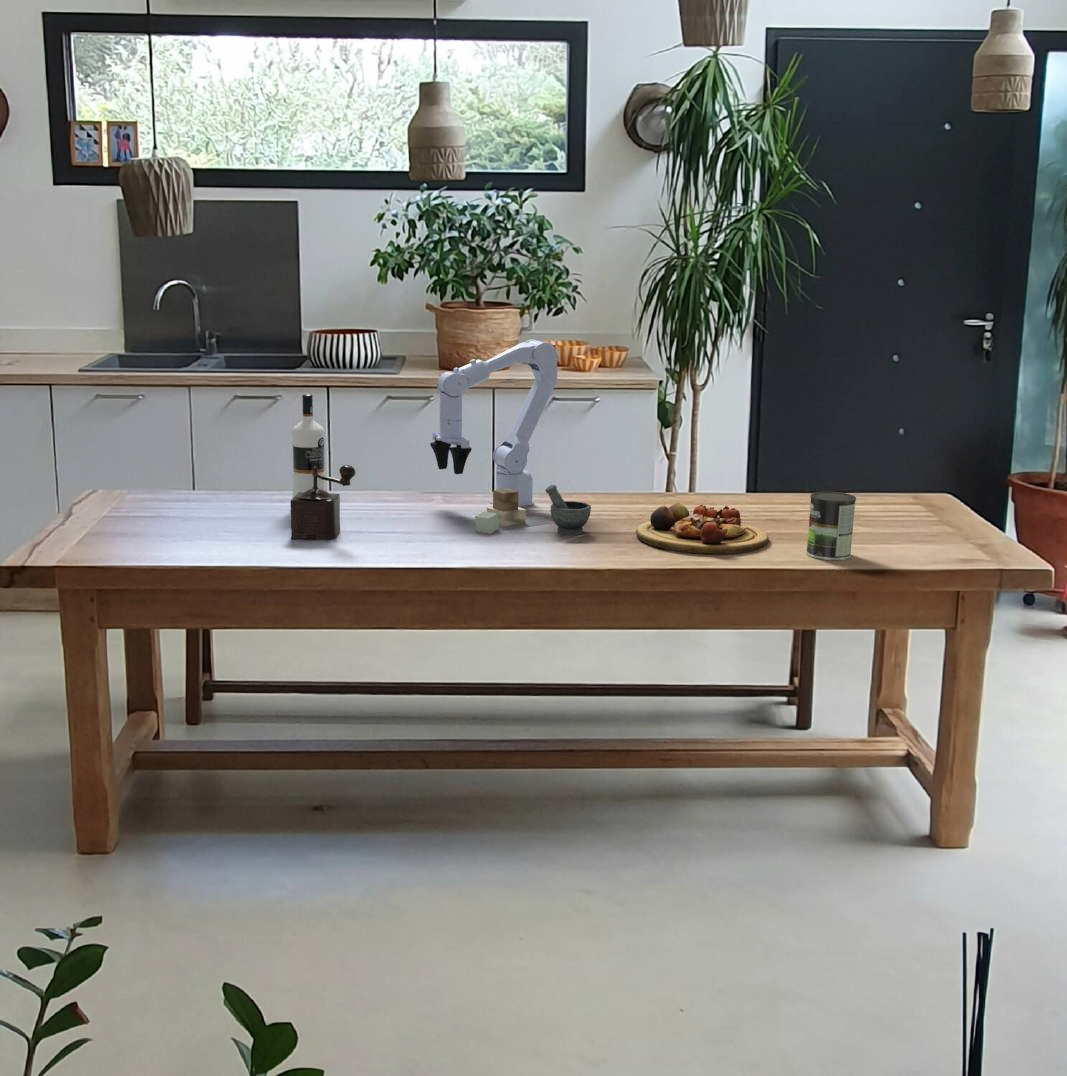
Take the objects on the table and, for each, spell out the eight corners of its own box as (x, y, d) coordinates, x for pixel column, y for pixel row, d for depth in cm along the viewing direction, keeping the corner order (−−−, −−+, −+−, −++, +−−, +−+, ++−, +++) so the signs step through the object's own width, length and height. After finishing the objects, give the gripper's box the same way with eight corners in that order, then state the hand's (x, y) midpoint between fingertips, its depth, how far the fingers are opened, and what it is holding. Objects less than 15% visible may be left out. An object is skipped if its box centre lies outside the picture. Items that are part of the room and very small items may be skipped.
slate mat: (518, 513, 348) (518, 512, 348) (551, 524, 337) (551, 523, 337) (460, 522, 337) (460, 520, 337) (492, 533, 326) (492, 532, 326)
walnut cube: (507, 505, 339) (507, 488, 338) (518, 509, 336) (518, 491, 334) (492, 508, 336) (493, 490, 335) (503, 511, 333) (503, 493, 332)
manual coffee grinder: (289, 540, 316) (287, 465, 311) (298, 529, 327) (296, 456, 322) (355, 542, 315) (354, 466, 311) (362, 531, 326) (361, 458, 322)
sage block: (485, 527, 331) (484, 511, 329) (499, 529, 328) (497, 513, 327) (476, 532, 327) (474, 516, 326) (489, 533, 325) (488, 518, 324)
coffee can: (813, 560, 308) (817, 500, 304) (800, 549, 318) (805, 491, 314) (857, 560, 309) (862, 500, 305) (843, 549, 319) (848, 491, 315)
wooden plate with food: (765, 561, 308) (768, 525, 306) (627, 549, 314) (628, 515, 312) (770, 532, 338) (772, 499, 336) (644, 522, 344) (646, 490, 343)
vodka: (307, 504, 353) (305, 390, 345) (335, 509, 348) (333, 393, 341) (283, 511, 345) (281, 394, 338) (312, 516, 340) (309, 397, 333)
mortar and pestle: (587, 528, 334) (588, 480, 331) (593, 537, 325) (594, 488, 322) (542, 528, 333) (543, 480, 330) (546, 537, 324) (548, 488, 321)
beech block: (509, 517, 342) (509, 504, 341) (525, 523, 336) (525, 509, 335) (486, 520, 338) (486, 507, 337) (502, 526, 332) (502, 512, 331)
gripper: (422, 416, 349) (422, 468, 353) (453, 424, 338) (452, 477, 341) (445, 414, 353) (445, 465, 357) (476, 422, 342) (475, 474, 345)
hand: (450, 471), depth 349 cm, fingers open, 7 cm apart
